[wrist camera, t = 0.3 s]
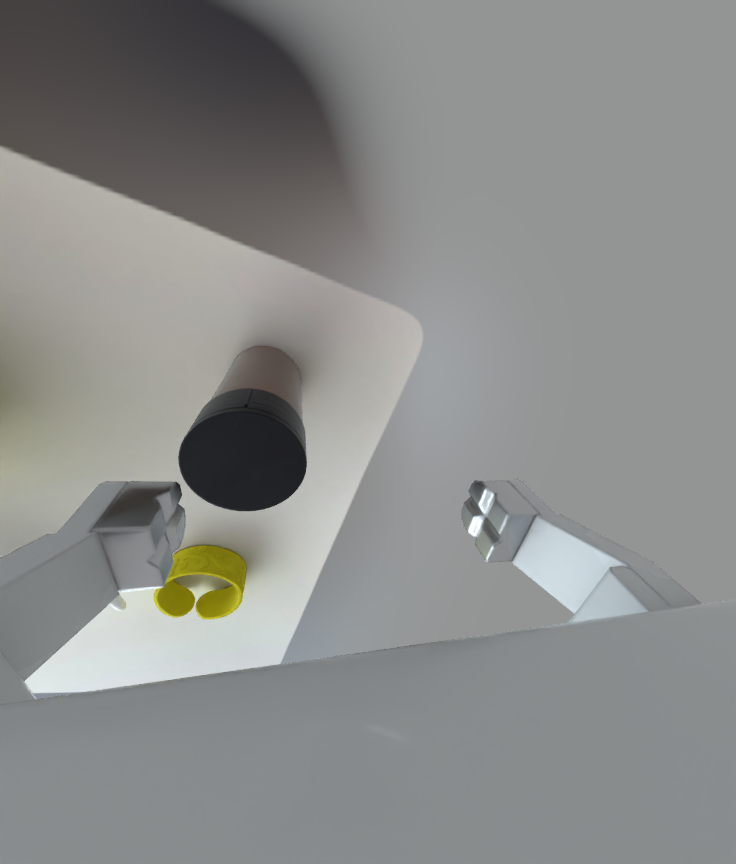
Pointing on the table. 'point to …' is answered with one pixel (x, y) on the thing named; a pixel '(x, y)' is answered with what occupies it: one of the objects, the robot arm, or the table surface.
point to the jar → (265, 375)
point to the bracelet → (204, 562)
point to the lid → (245, 451)
